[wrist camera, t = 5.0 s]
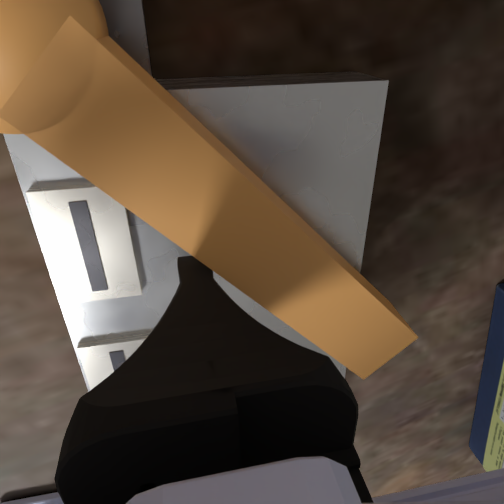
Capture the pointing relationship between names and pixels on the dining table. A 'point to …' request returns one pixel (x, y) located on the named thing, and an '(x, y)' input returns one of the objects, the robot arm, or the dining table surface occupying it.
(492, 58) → the dining table surface
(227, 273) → the swing arm
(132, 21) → the grey flat piece
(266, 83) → the chassis
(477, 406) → the protein box
